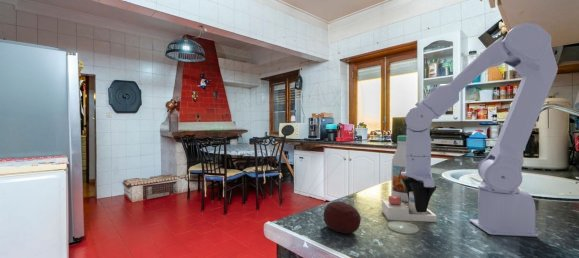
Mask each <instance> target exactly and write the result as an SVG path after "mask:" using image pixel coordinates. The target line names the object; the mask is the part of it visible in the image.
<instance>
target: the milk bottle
mask: <svg viewBox="0 0 579 258" xmlns="http://www.w3.org/2000/svg"><path fill="white" fill-rule="evenodd" d="M406 137H407V135H398V136H397V137H396V143H397V147H396V150H395V152H394V154H393V156H392V161H391V176H390V177H391V181H390V182H391V190H390V191H391V195H390V196H399V197H401V202H403V203H409V200H408V195H407V191H406V188H405V185H404V183H403V181H402V178H407V177H408V176H402V175H401V172H405V168H406Z"/></svg>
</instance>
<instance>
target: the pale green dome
mask: <svg viewBox="0 0 579 258" xmlns="http://www.w3.org/2000/svg"><path fill="white" fill-rule="evenodd" d="M387 227H388V229H389V230H391V231H393V232H396V233H400V234H404V235H405V234H406V235H413V234H416V233H419V229H420V228H419V227H418V226H417V224H414V223H411V222H410V221H404V220H391V221H389V222H388V223H387Z"/></svg>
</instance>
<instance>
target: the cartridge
mask: <svg viewBox="0 0 579 258" xmlns="http://www.w3.org/2000/svg"><path fill="white" fill-rule="evenodd" d="M408 207H409V213H410V214H427V211H426V212H417V211H416V208H415V201H414V195H413V191H411V192H409V202H408Z"/></svg>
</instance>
